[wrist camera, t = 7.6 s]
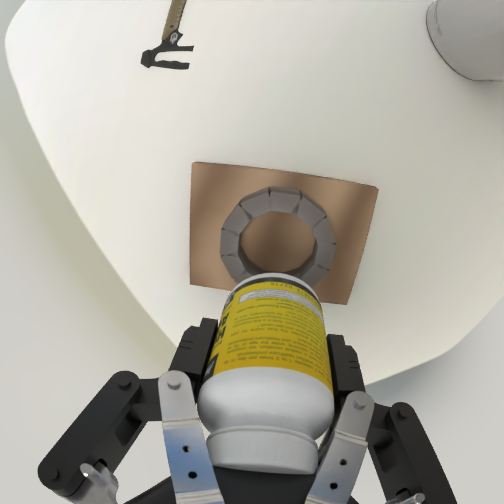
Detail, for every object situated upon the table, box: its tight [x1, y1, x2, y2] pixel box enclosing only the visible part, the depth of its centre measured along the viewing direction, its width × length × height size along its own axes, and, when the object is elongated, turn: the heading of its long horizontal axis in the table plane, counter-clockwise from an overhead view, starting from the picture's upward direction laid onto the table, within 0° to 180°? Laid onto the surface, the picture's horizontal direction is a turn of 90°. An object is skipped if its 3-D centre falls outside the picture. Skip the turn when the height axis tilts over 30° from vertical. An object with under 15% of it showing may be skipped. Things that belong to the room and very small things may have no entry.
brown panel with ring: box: [190, 162, 379, 305], centre depth 25 cm, size 16×12×3 cm
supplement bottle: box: [197, 273, 334, 474], centre depth 11 cm, size 5×5×10 cm
